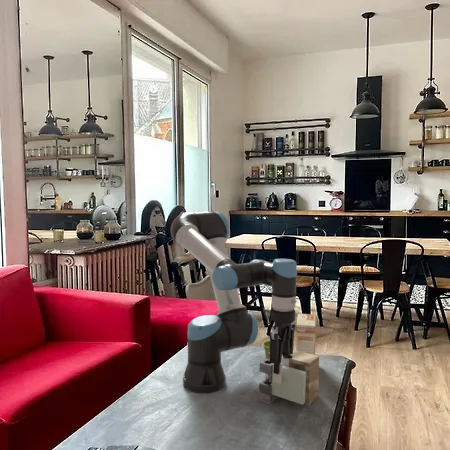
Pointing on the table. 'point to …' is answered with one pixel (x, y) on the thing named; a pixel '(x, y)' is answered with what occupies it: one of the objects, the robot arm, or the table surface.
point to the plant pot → (266, 347)
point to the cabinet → (303, 363)
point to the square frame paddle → (284, 383)
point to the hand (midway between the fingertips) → (280, 380)
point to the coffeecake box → (306, 333)
